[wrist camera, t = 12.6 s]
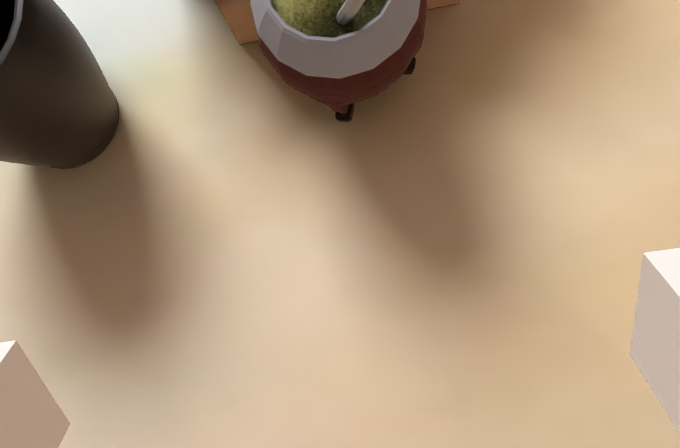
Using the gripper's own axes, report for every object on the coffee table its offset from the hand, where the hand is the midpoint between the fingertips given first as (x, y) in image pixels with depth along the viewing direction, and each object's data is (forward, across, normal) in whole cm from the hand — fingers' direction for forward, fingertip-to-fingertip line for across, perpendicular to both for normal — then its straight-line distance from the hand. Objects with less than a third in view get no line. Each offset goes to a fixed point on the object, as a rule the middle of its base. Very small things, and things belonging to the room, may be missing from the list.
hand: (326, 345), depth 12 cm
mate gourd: (+19, +2, 0) cm, 19 cm away
